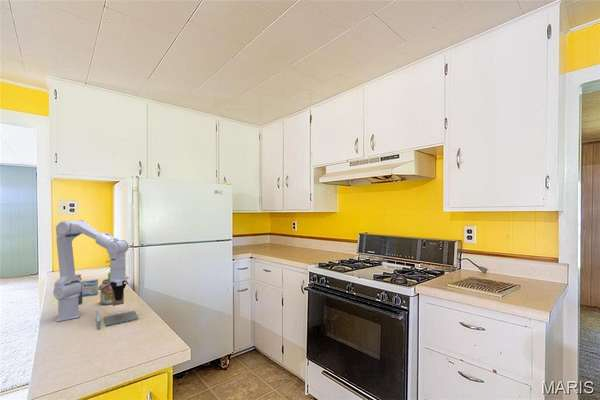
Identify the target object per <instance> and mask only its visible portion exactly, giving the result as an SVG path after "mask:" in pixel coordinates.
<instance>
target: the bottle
mask: <svg viewBox="0 0 600 400" xmlns="http://www.w3.org/2000/svg"><path fill="white" fill-rule="evenodd" d="M75 275H76V276H78V277H80V279H81V281H83V280H82V274H79V273H78V274H75ZM81 283H82V282H81ZM82 304H83V297H82V292H81V293H80V295H79V296H78V306H80V305H82Z"/></svg>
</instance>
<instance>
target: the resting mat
mask: <svg viewBox="0 0 600 400" xmlns="http://www.w3.org/2000/svg"><path fill="white" fill-rule="evenodd" d="M103 318H104V323H105V327H110V326H114V325H115V326H116V325H120V324H124V323H130V322H134V321H138V320H137V319H139V316H138V313H137V312H136V311H135V310H132V311H127V312H122V313H117V314H112V315H107V316H106V315H105V316H104V317H103ZM133 320H134V321H133Z"/></svg>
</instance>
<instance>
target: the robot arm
mask: <svg viewBox="0 0 600 400" xmlns="http://www.w3.org/2000/svg"><path fill="white" fill-rule="evenodd" d="M55 232H56V238H55V239H56V248H57V249H56V250H57V260H58V270H59V278H58V279H57V280H56V281H55V282H54V284H53V286H54V287H53V291H52V293H53V294H52V295H53V296H54V298H55V299H56V301H57V303H58V305H57V308H58V309H57V317H56V319H55V320H56V323H57V322H62V321H68V320H72V319H73V320H74V319H78V318H79V319H80V314H81V313H80V310H79V305H78V296H79V295H80V293H81V292H82V290H83V284H82V283H81V281H82V280H81V279H80V278H81V277H78V276H76V275H77V274H76V269H75V259H74V258H75V257H74V249H73V241H74V240H75V239H76V238H77V237H79V236H80V235H82V234H83V235H85V236H87V237H88V238H91V239H92V240H95V244H97V245H98V246H100V247H102V248H103V249H104V250H106V252H107V254H108V258H109V259H110V260H109V261H110V262H109V263H110V264H109V265H110V267H109V268H110V269H109V270H110V271H109V272H110V281H111V283H110V284H111V287H112V289H113V291H114V295H115V300H116V301H119V300H121V299H122V295H123V291H124V290H125V288H126V286H127V283H126V280H127V279H129V278H130V277H129V276H128V275H127V276H126V273H127V272H126V253H127V252H128V250H129V243H128V242H127V241H126V240H125V239H121V240H120V239H119V238H118V237H114V236H113V235H111V233H109V232H100V231H99V230H97V229H95V228H94V227H92V226H91V225H90V224H89V223H88V222H87V221H85V220H82V219H79V220H61V221H60V222H58V223H57V225H56V226H55ZM124 292H125V291H124Z"/></svg>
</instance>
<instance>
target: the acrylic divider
mask: <svg viewBox="0 0 600 400" xmlns="http://www.w3.org/2000/svg"><path fill="white" fill-rule="evenodd" d="M95 322H96V330H97V331H99V330H101V316H100V310H99V309H97V310H96V311H95Z"/></svg>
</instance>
